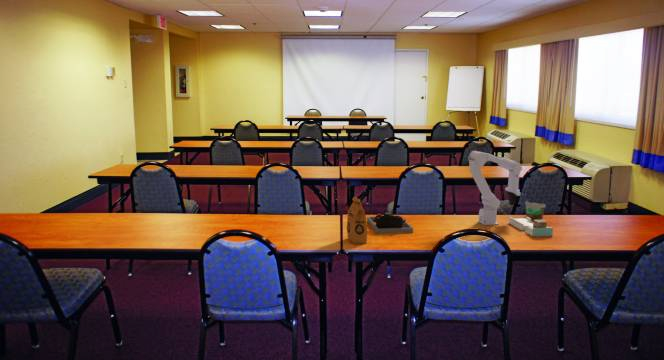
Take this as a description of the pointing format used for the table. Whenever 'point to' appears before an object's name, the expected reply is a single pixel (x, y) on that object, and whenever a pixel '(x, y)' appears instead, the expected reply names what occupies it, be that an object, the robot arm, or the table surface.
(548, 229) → the trap runway
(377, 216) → the black lump on tray
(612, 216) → the table surface
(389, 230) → the tray
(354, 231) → the coffee package
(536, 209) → the food container
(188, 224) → the table surface
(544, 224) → the walnut block
